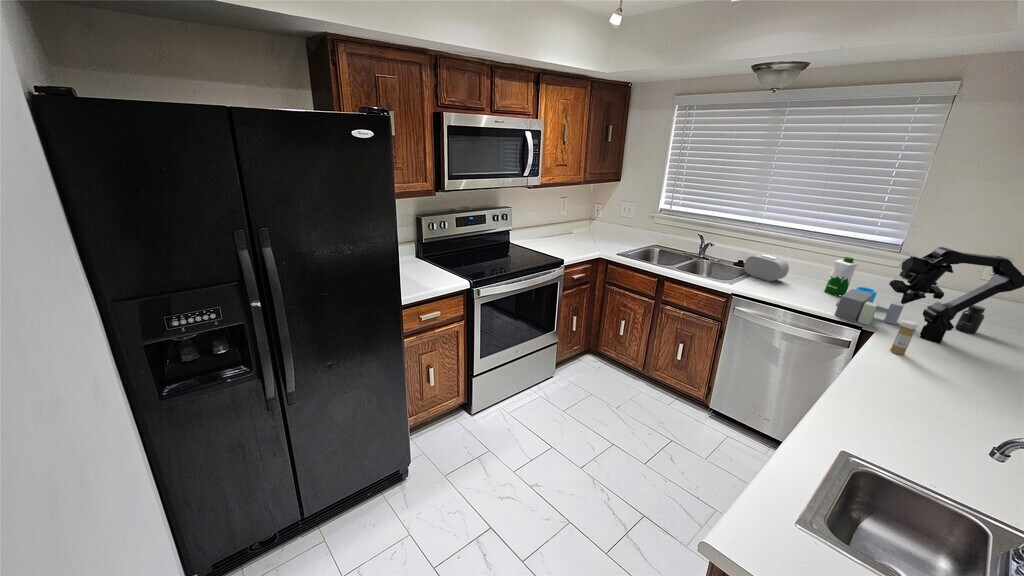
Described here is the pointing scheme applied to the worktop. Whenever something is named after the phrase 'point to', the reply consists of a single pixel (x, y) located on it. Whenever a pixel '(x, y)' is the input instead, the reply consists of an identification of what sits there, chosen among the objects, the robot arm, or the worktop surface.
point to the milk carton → (840, 276)
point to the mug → (868, 292)
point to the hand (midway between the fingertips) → (902, 303)
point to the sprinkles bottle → (903, 337)
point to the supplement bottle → (970, 319)
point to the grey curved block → (852, 304)
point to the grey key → (892, 312)
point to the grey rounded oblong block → (766, 267)
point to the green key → (866, 312)
